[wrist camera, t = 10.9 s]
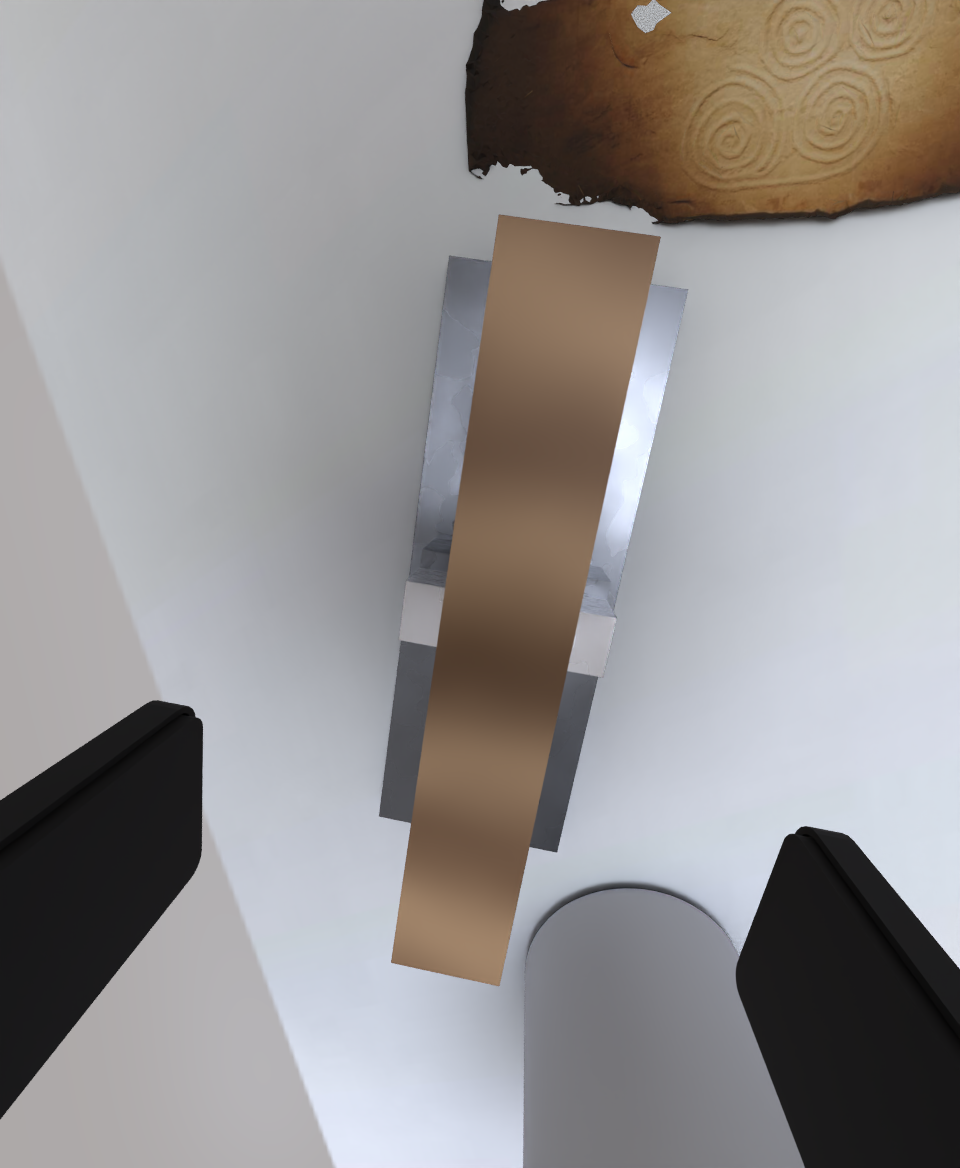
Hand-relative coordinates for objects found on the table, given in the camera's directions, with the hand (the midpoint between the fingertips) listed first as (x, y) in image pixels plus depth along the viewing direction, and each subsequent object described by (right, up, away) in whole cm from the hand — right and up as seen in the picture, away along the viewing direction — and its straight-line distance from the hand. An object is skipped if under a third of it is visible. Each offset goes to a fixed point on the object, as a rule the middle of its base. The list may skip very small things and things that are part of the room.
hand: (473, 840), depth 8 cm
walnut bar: (+1, +2, +11) cm, 12 cm away
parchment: (+12, +24, +12) cm, 29 cm away
